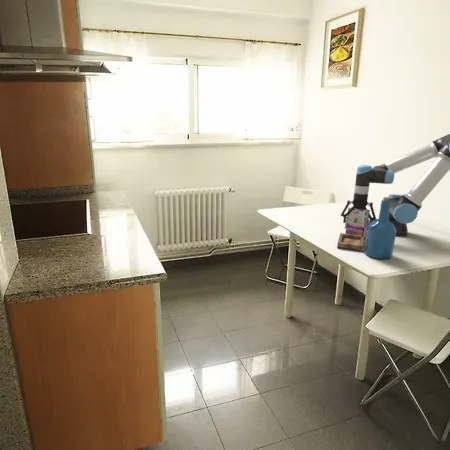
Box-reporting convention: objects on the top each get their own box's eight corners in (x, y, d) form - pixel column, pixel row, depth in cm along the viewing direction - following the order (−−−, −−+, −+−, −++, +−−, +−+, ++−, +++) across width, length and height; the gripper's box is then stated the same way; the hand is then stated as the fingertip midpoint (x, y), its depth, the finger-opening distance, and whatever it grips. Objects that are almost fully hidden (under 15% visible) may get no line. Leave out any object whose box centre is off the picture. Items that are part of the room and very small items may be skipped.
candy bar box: (366, 237, 220) (370, 209, 215) (362, 239, 217) (366, 211, 212) (349, 232, 228) (352, 206, 223) (344, 234, 224) (348, 207, 219)
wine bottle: (386, 251, 199) (395, 194, 190) (396, 260, 186) (406, 200, 178) (359, 250, 199) (367, 194, 191) (368, 259, 187) (376, 200, 178)
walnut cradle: (363, 240, 214) (363, 235, 213) (362, 251, 197) (362, 246, 197) (339, 238, 218) (340, 233, 217) (337, 248, 202) (337, 242, 201)
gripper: (384, 193, 214) (378, 230, 220) (339, 189, 222) (335, 225, 228) (384, 196, 207) (378, 234, 214) (338, 192, 215) (334, 228, 222)
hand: (356, 229), depth 221 cm, fingers closed on candy bar box, 12 cm apart
